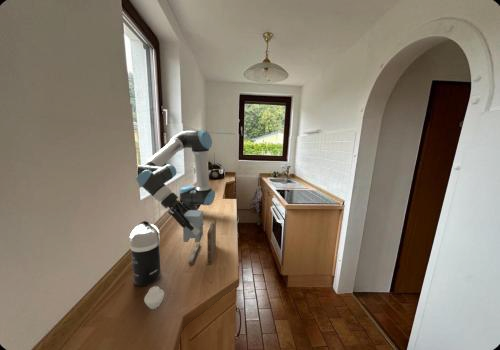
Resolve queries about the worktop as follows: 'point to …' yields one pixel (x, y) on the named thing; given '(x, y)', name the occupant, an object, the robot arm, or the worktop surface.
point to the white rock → (154, 297)
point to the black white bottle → (145, 253)
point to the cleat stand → (210, 243)
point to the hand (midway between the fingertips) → (200, 229)
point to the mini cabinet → (197, 221)
